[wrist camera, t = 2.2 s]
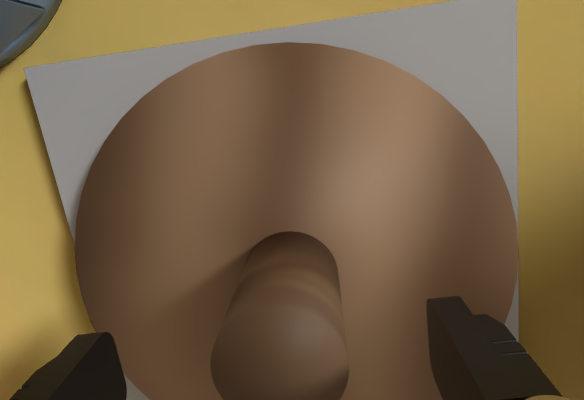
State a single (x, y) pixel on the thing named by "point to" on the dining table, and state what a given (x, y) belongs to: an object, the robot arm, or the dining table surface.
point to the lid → (290, 228)
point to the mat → (338, 32)
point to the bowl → (22, 24)
